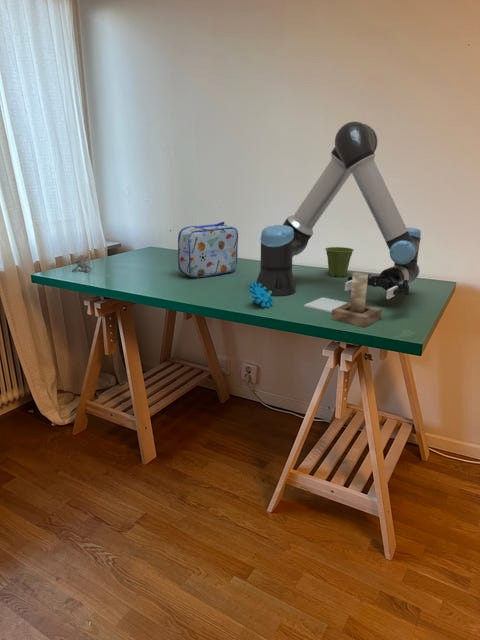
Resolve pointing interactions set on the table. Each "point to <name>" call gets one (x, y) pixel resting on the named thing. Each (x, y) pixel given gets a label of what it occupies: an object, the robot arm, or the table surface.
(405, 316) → the table surface
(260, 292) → the gear
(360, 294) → the dowel
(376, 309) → the pocket block
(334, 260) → the plant pot
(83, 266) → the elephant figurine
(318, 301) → the pad
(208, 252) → the lunch box
